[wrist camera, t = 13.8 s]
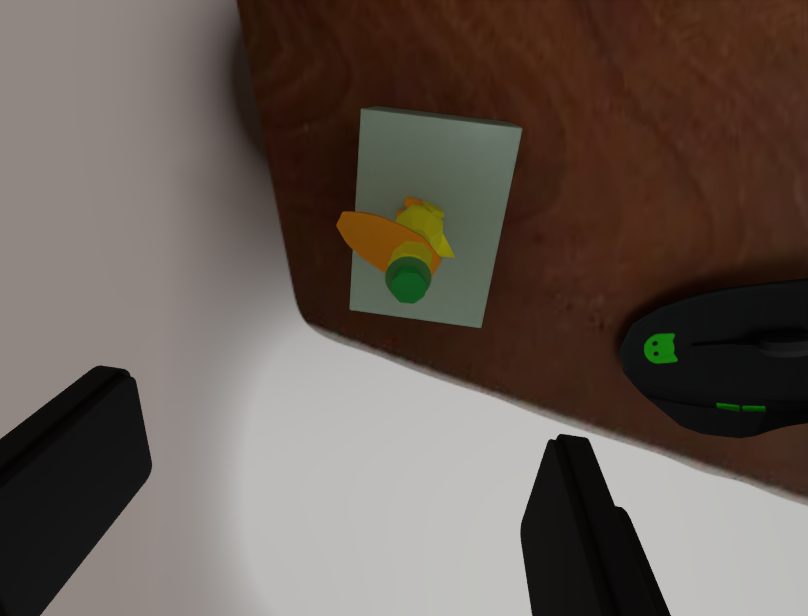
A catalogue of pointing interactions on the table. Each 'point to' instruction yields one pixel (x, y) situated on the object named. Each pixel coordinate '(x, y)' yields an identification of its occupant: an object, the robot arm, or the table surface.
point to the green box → (436, 203)
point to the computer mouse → (726, 358)
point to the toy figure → (400, 245)
